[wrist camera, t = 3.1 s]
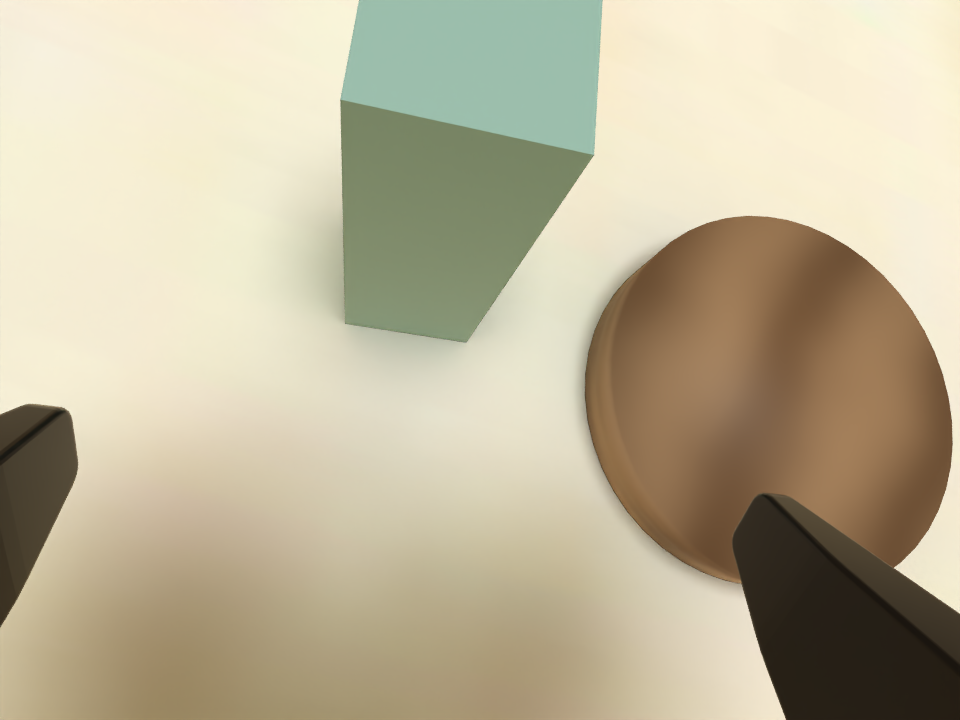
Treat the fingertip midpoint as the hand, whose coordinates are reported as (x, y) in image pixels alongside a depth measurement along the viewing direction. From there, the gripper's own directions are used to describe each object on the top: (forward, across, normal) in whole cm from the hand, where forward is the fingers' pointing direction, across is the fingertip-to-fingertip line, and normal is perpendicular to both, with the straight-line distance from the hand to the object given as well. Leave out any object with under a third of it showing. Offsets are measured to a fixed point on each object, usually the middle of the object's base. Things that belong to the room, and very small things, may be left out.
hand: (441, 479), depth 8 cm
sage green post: (+15, 0, +4) cm, 16 cm away
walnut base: (+13, -14, +6) cm, 20 cm away
